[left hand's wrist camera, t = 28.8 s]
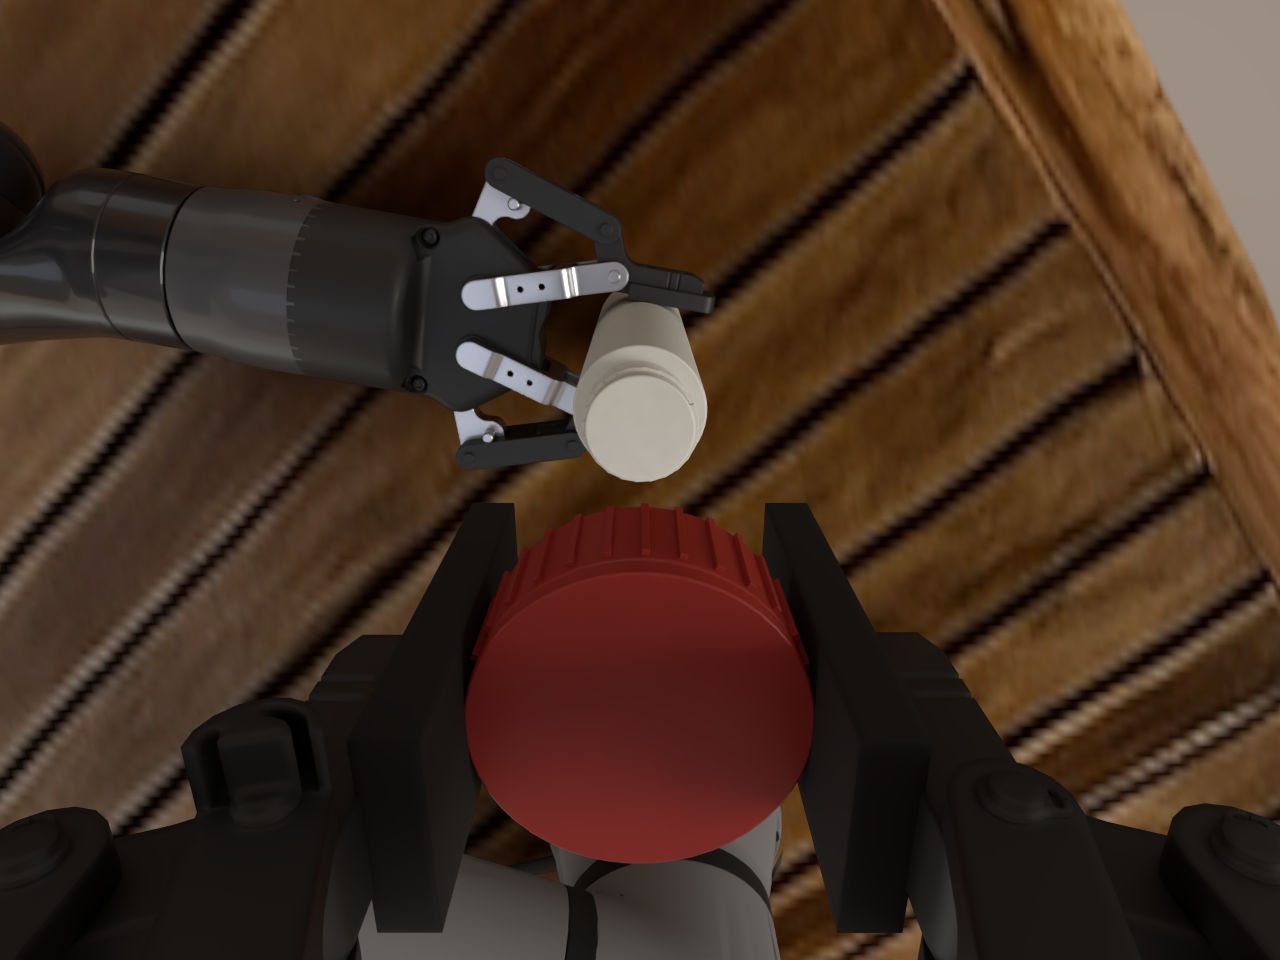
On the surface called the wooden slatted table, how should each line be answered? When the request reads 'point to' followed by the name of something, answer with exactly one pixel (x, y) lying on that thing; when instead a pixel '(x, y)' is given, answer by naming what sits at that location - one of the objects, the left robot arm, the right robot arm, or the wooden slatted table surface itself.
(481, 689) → the lid
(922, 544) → the wooden slatted table surface
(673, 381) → the white tube
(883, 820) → the left robot arm
